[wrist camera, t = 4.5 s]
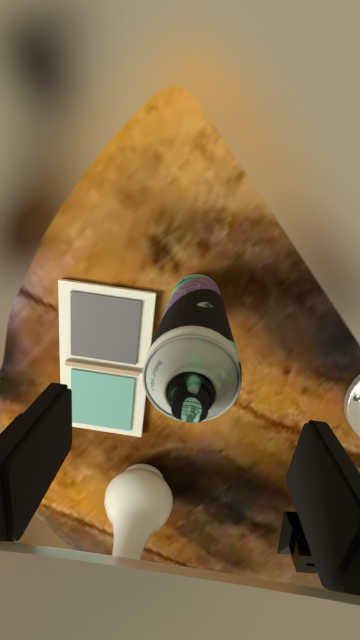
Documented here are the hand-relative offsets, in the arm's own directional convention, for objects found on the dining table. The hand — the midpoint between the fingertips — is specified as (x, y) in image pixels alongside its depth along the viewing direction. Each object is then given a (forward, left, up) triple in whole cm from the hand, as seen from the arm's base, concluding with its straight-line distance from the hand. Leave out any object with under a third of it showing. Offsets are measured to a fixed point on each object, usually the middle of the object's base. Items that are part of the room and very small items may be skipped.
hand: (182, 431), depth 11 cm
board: (+10, +10, -21) cm, 26 cm away
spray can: (0, 0, -22) cm, 22 cm away
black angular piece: (-21, +35, -22) cm, 46 cm away
